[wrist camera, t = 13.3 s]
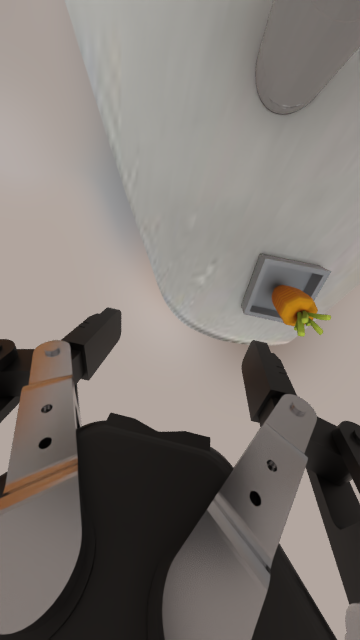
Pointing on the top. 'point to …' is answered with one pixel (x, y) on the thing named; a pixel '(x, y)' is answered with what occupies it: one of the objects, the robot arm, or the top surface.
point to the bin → (280, 283)
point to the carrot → (296, 308)
